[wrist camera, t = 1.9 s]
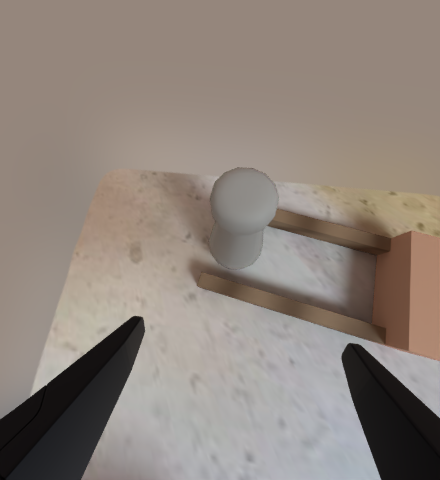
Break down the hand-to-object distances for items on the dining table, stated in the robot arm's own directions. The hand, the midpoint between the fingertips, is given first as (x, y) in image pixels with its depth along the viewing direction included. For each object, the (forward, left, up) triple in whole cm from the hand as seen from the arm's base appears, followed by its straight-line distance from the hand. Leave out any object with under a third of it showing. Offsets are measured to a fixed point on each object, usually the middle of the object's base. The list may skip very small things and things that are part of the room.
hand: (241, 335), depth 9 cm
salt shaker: (+5, +6, -14) cm, 16 cm away
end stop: (+15, -9, -13) cm, 22 cm away
